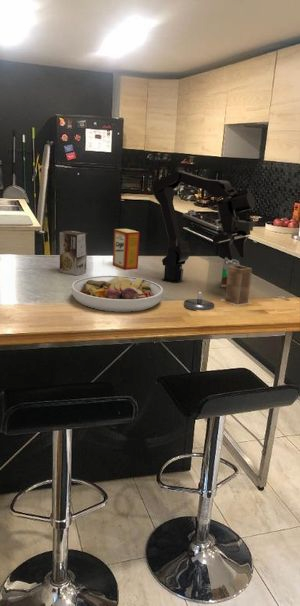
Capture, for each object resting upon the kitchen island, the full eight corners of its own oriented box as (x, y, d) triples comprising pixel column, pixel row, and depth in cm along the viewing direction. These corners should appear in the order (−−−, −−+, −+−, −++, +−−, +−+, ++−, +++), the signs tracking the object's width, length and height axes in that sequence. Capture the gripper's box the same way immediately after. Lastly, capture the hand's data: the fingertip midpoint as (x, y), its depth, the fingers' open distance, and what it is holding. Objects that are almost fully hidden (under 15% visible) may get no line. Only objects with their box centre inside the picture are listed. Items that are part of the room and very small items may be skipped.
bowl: (61, 291, 172) (62, 269, 169) (141, 287, 184) (142, 266, 181) (86, 318, 146) (86, 293, 143) (177, 311, 157) (179, 288, 155)
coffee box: (86, 273, 197) (88, 232, 193) (76, 275, 192) (77, 234, 187) (69, 269, 202) (70, 229, 197) (58, 271, 197) (59, 231, 192)
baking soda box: (112, 265, 214) (114, 228, 210) (125, 263, 218) (126, 227, 213) (125, 269, 207) (126, 231, 202) (137, 268, 211) (139, 231, 206)
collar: (224, 300, 171) (228, 266, 167) (235, 298, 174) (239, 264, 171) (236, 304, 167) (241, 270, 163) (247, 302, 170) (252, 268, 167)
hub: (179, 308, 160) (181, 293, 159) (188, 300, 169) (190, 286, 168) (209, 313, 157) (211, 298, 155) (217, 305, 166) (218, 291, 164)
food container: (236, 291, 185) (239, 265, 182) (220, 289, 186) (223, 263, 184) (237, 283, 197) (240, 259, 194) (222, 281, 198) (225, 257, 195)
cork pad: (219, 301, 171) (219, 299, 171) (235, 298, 176) (235, 296, 176) (237, 307, 165) (237, 306, 165) (252, 304, 170) (252, 302, 170)
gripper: (235, 211, 163) (245, 257, 165) (258, 208, 178) (268, 251, 179) (207, 219, 170) (217, 264, 172) (231, 216, 185) (240, 257, 186)
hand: (236, 258), depth 177 cm, fingers open, 9 cm apart
